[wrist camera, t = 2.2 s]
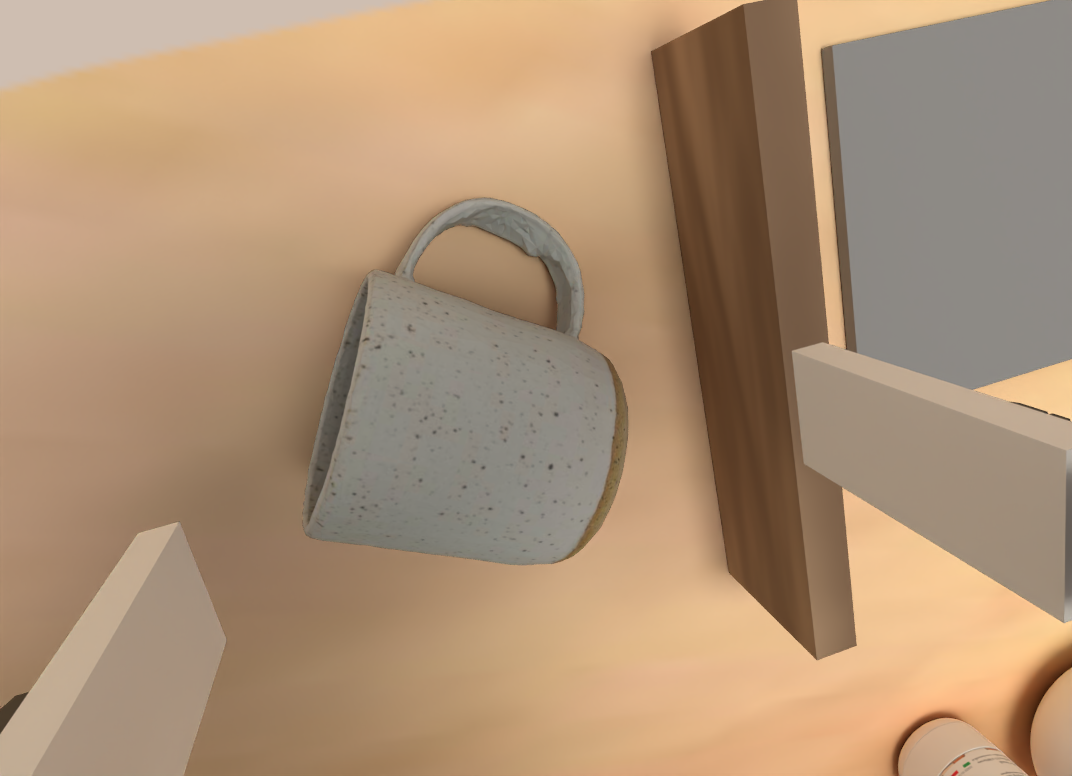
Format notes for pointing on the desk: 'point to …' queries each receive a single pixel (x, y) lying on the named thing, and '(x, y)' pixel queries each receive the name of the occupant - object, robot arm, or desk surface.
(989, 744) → the cosmetic set
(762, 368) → the walnut screen
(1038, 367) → the mat
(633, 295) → the desk surface
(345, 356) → the ceramic mug
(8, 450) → the desk surface
